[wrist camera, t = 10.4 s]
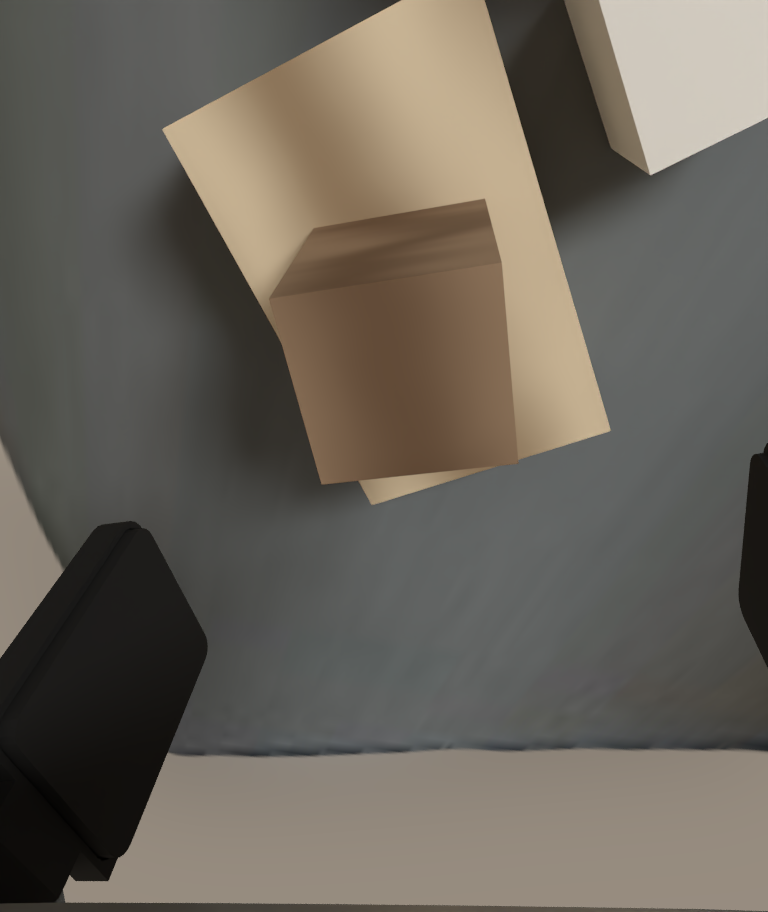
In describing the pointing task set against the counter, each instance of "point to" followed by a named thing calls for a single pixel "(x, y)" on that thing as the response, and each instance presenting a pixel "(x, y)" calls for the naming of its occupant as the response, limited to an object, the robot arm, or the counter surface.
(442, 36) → the maple block
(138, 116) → the counter surface
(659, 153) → the offwhite cube
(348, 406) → the walnut block
